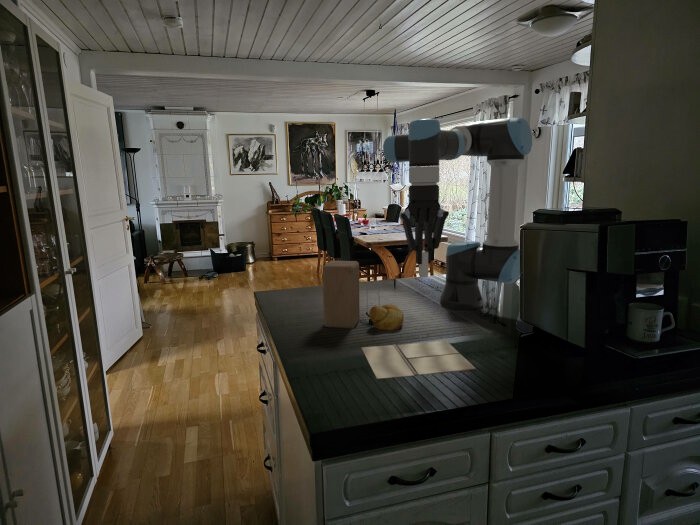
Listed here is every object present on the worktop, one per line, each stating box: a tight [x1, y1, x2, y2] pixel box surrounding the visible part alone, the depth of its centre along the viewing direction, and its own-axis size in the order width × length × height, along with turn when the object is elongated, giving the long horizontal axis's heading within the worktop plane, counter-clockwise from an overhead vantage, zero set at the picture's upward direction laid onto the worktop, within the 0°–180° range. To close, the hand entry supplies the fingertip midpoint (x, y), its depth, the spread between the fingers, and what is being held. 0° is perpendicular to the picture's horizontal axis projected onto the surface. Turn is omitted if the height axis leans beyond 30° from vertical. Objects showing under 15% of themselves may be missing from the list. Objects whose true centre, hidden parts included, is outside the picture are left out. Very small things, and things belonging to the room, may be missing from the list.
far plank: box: [396, 340, 460, 359], centre depth 115 cm, size 14×9×1 cm, turn 99°
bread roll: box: [369, 304, 404, 331], centre depth 135 cm, size 13×10×8 cm
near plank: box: [407, 353, 477, 376], centre depth 106 cm, size 14×9×1 cm, turn 99°
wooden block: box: [322, 260, 360, 329], centre depth 138 cm, size 10×10×20 cm
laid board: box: [360, 344, 418, 380], centre depth 108 cm, size 10×19×1 cm, turn 9°
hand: (423, 275), depth 113 cm, fingers closed
